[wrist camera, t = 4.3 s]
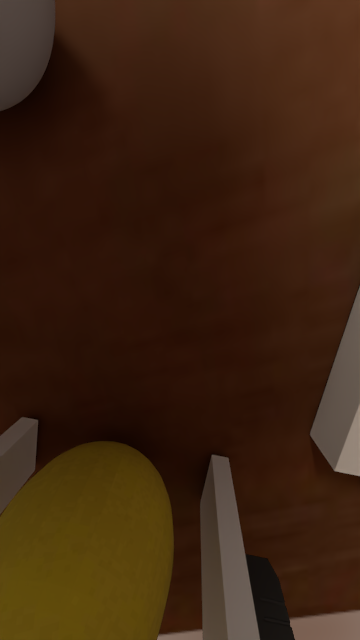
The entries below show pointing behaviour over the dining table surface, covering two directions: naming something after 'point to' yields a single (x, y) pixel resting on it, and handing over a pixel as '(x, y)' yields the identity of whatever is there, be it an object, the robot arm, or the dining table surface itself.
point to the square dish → (342, 403)
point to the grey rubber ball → (24, 47)
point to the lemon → (87, 549)
